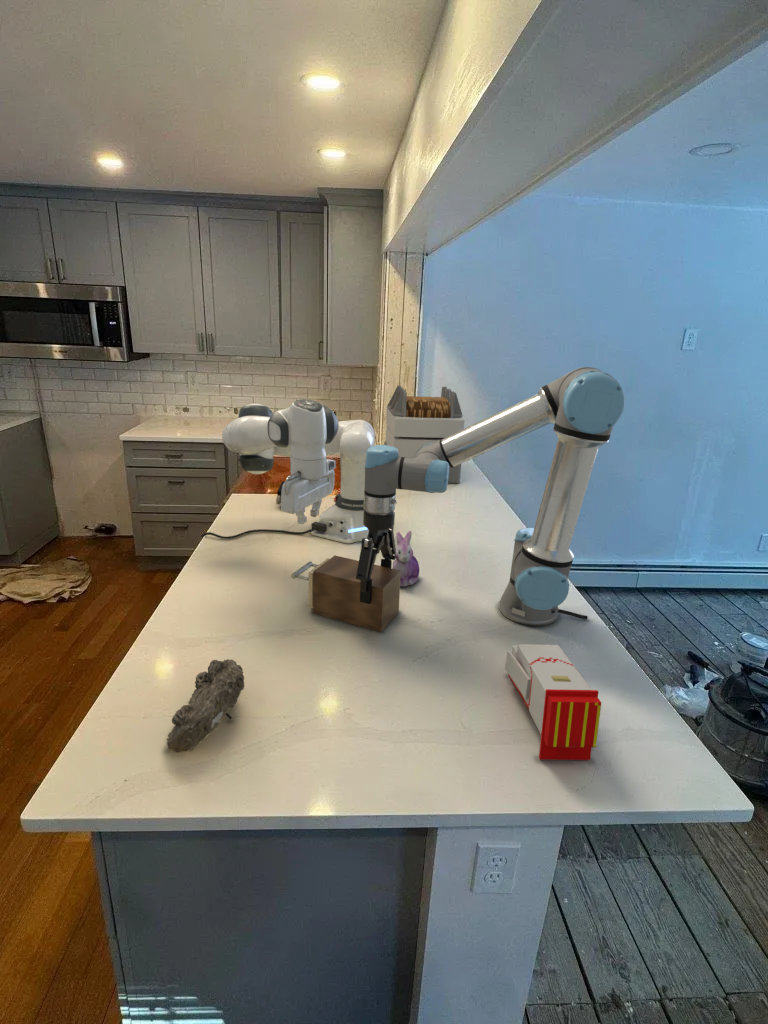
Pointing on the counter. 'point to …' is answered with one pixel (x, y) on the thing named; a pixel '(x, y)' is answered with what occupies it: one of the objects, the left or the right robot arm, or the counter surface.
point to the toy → (556, 700)
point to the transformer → (422, 423)
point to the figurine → (406, 560)
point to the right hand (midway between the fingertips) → (375, 592)
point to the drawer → (310, 579)
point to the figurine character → (279, 494)
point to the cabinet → (355, 593)
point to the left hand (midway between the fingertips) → (308, 519)
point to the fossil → (206, 705)
